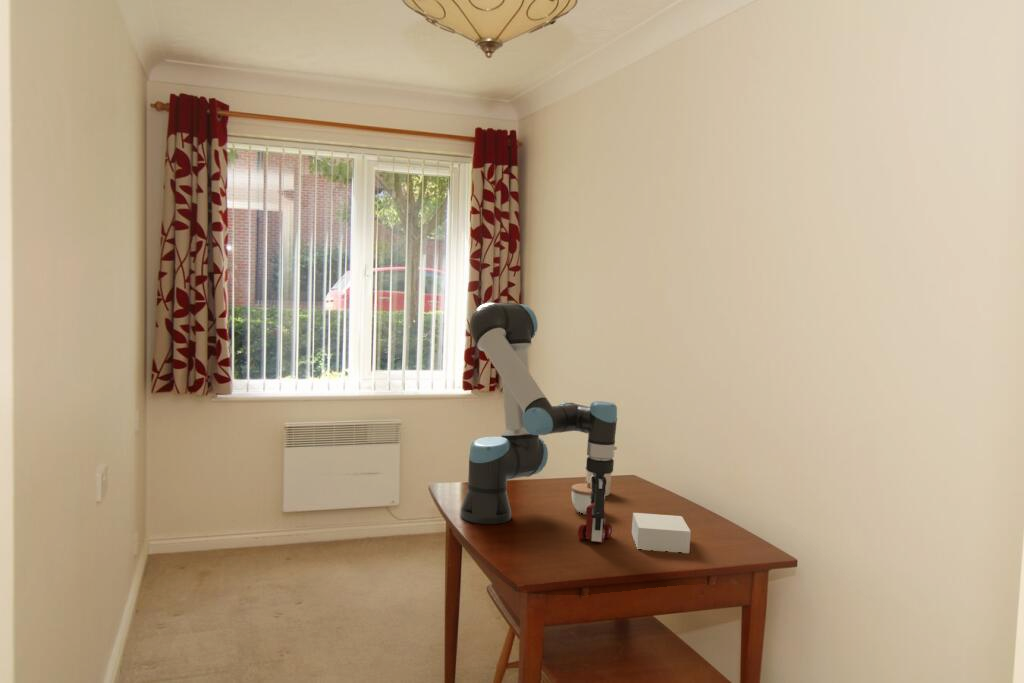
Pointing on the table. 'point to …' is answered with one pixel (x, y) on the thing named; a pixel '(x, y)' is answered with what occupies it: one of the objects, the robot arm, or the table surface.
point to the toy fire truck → (587, 529)
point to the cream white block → (660, 532)
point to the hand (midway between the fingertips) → (595, 533)
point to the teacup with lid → (608, 476)
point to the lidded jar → (582, 496)
